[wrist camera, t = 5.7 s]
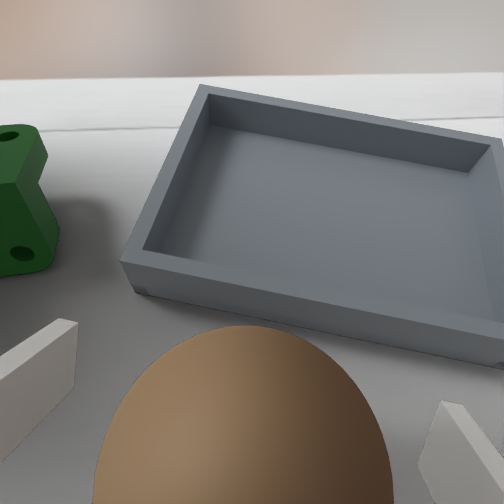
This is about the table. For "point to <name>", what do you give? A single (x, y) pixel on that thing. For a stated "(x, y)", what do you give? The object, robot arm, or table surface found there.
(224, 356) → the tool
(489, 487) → the robot arm
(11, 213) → the clamp
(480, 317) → the tray
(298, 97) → the table surface
